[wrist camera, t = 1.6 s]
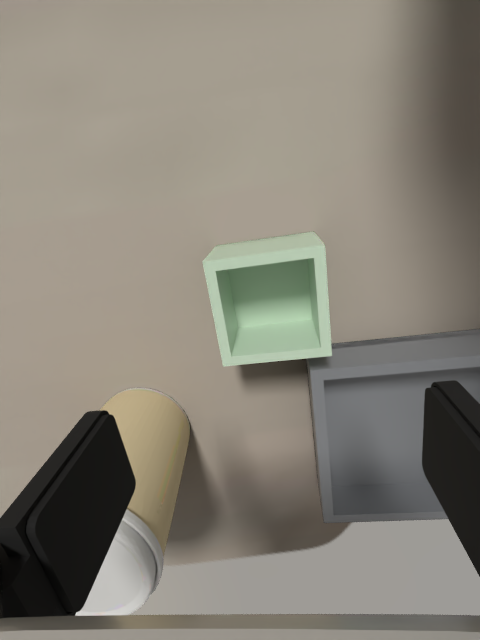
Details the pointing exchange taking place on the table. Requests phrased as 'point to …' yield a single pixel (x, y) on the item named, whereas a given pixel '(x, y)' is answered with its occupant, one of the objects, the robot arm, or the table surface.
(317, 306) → the box
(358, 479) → the large crate
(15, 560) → the robot arm
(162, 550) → the coffee cup
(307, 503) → the table surface
